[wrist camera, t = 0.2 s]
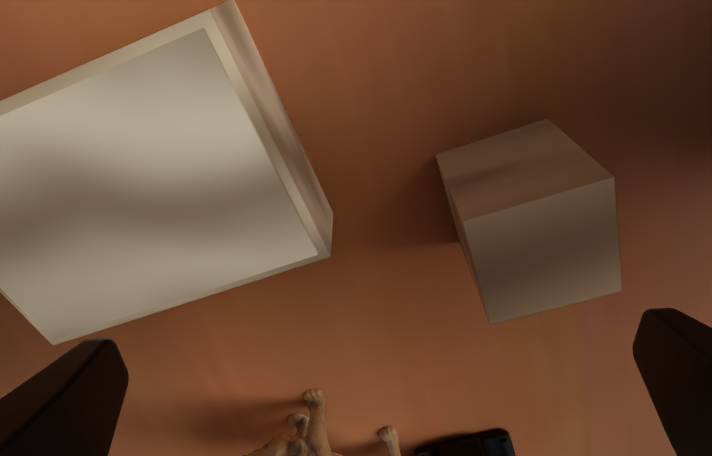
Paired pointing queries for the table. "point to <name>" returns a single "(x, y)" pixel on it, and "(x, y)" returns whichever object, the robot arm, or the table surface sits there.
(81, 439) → the robot arm
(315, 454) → the lion figurine
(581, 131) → the table surface
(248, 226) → the cream flat block
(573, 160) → the grey-brown block
